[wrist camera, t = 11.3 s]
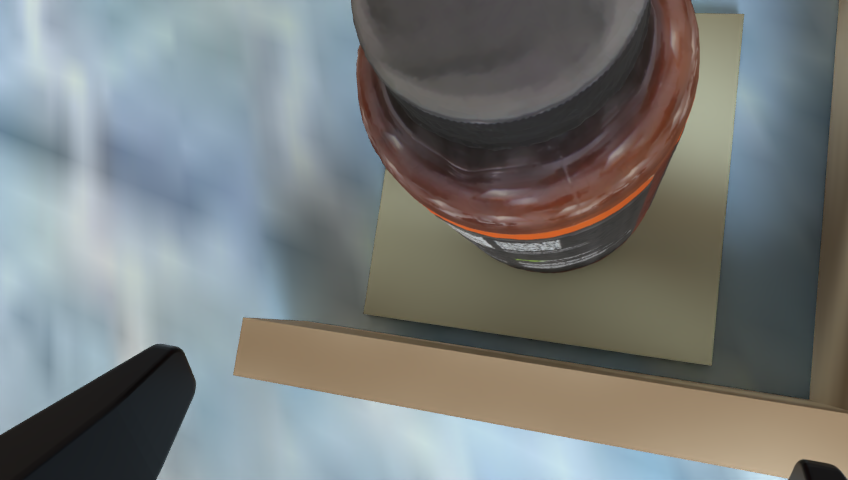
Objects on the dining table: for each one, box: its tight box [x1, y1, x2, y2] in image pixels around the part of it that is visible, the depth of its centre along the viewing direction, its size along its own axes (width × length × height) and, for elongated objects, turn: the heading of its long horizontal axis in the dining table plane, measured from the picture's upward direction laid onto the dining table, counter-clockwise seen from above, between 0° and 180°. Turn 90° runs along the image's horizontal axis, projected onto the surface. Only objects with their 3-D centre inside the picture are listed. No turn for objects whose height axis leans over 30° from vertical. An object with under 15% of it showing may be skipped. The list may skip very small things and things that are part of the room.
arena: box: [233, 0, 848, 479], centre depth 17 cm, size 14×16×4 cm
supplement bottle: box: [351, 0, 700, 273], centre depth 14 cm, size 6×6×11 cm
